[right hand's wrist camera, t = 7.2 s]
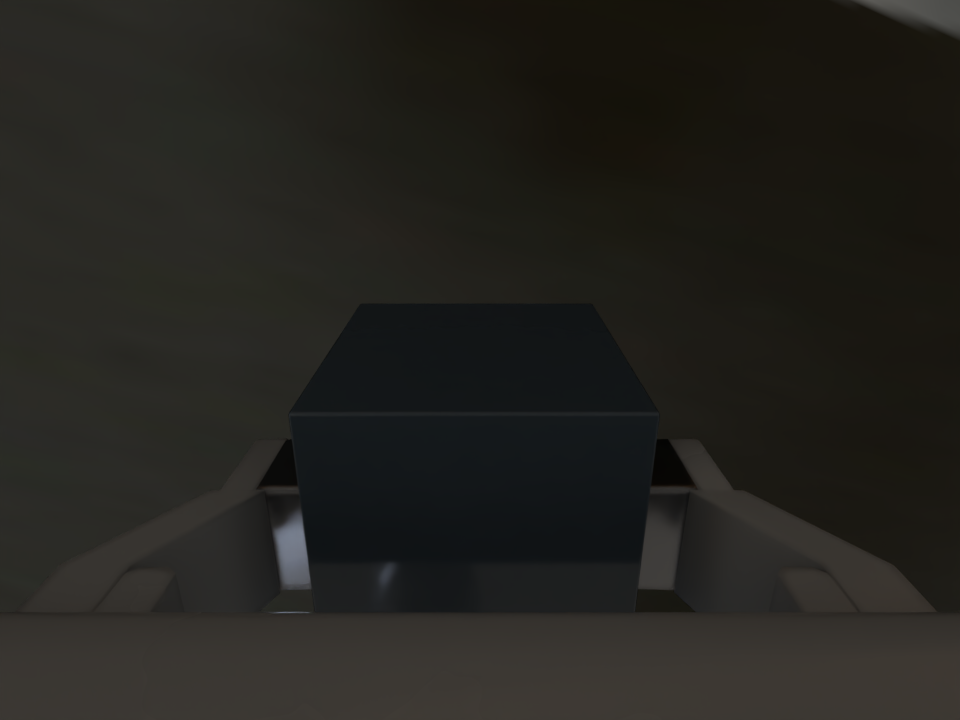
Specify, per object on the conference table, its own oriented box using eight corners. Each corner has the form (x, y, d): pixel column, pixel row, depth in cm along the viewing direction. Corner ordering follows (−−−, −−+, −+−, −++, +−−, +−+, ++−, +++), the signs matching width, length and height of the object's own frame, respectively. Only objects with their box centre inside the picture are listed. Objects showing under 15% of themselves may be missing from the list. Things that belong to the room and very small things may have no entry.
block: (359, 302, 11) (286, 412, 7) (593, 303, 11) (661, 412, 7) (376, 514, 13) (325, 705, 9) (577, 514, 13) (625, 704, 9)
